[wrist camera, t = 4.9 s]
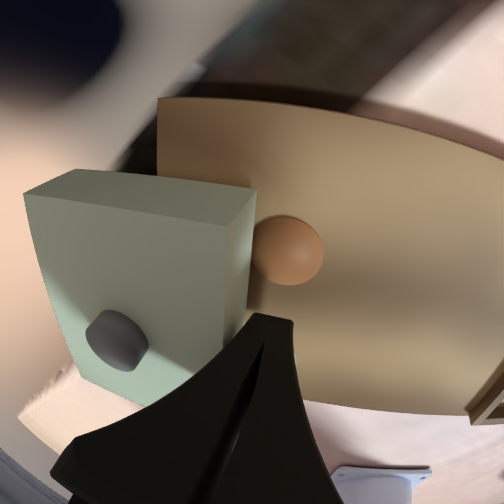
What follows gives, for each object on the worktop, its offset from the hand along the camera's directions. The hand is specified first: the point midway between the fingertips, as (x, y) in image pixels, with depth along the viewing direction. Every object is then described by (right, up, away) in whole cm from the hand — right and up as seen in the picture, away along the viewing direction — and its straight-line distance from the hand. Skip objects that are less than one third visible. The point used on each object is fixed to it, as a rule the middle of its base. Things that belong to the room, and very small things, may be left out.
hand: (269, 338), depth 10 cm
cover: (-4, +1, +2) cm, 5 cm away
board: (+9, 0, 0) cm, 9 cm away
